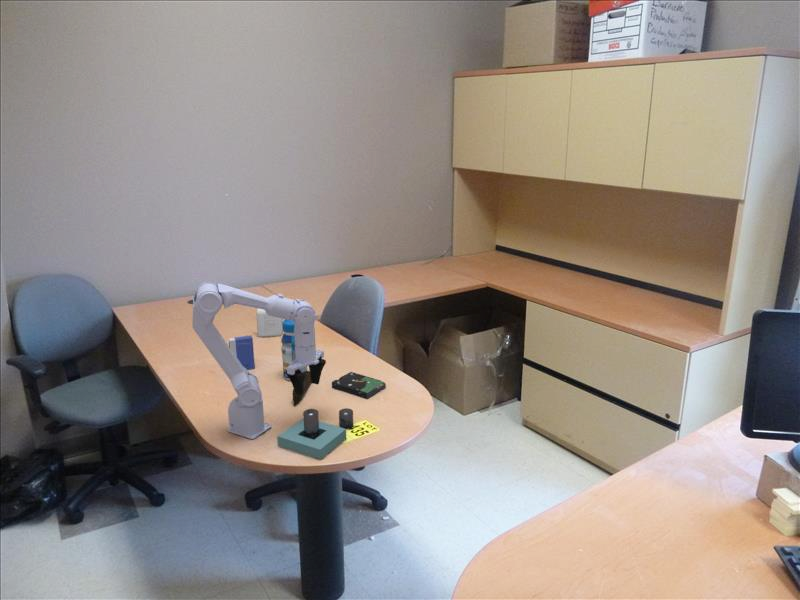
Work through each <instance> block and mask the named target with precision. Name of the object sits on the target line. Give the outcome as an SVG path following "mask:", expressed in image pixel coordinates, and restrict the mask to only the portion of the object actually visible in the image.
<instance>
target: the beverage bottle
mask: <svg viewBox="0 0 800 600" xmlns="http://www.w3.org/2000/svg"><path fill="white" fill-rule="evenodd" d="M282 326H283V335H282V336H281V340H280V341H281V342H280V343H282V345H281V346H280V347H281V348H280V349H281V357H282V370H283V373H282V374H283V378H284V379H285V380H287V381H290V379H289V377H288V376H287V375H286V370H287V367H288V366H289V365H290V364H291V363H292V362H293V361H294V359H295V358H296V357H295V338H294V328H295V326H294V320H292V321H290V320H285V319H283V323H282ZM300 371H301V372H302V373H303V372H305V371H308V366H305V367H303V368H301V369H300Z"/></svg>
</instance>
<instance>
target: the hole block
mask: <svg viewBox="0 0 800 600" xmlns="http://www.w3.org/2000/svg"><path fill="white" fill-rule="evenodd" d="M276 439H277V446H278V447H280V448H283V449H286V450H289V451H292V452H296V453H298V454H302V455H304V456H307V457H310V458H314V459H317V460H320V461H321V460H322V459H324V457H326V456H327V455H328V454H330V453H331V452H332V451H333V450H334V449H336V448H337V447H338V446H340V444H342V443H343V442H344V441H345V440H347V429H344V428H341V427H339V426H338V425H333V424H331V423H330V424H329V423H326V422H324V421H323V422H322V421H320V420H319V437H317V438H316V439H315V440H313V439H310V438H307V437H304V419H303V418H302V419H300V420H299V421H297V422H296V423H294V424H293V425H292V426H290V427H288V428H287V429H286V430H283V432H282V433H280V434H278V435H277V438H276Z"/></svg>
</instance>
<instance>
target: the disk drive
mask: <svg viewBox="0 0 800 600" xmlns="http://www.w3.org/2000/svg"><path fill="white" fill-rule="evenodd" d="M333 388H334V389H333ZM386 388H387V385H386V382H384V381H382V380H380V379H376V378H374V377H371V376H370V377H369V376H367V375H363V374H360V373H357V372H352V371H350V372H348V373H346V374H344V375H341V376H339V379H335V380H332V381H331V389H333V390H336V389H337V390H336V391H340V392H344V393H347V394H350V395H352V396H356V397H359V398H361V399H364V400H369V399H371V398H372V397H374V396H375V395H376V394H379V393H380V392H382V391H383V390H385V389H386ZM381 390H382V391H381ZM378 392H379V393H378Z"/></svg>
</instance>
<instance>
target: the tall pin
mask: <svg viewBox="0 0 800 600" xmlns="http://www.w3.org/2000/svg"><path fill="white" fill-rule="evenodd" d="M302 413H303V417H302V419H304V437H307V438H310V439H313V440H315V439H316V438H317V437H319V421H320V420H319V419H320V418H319V410H317V409H315V408H308V409H305V410H304V411H303V412H302Z"/></svg>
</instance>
